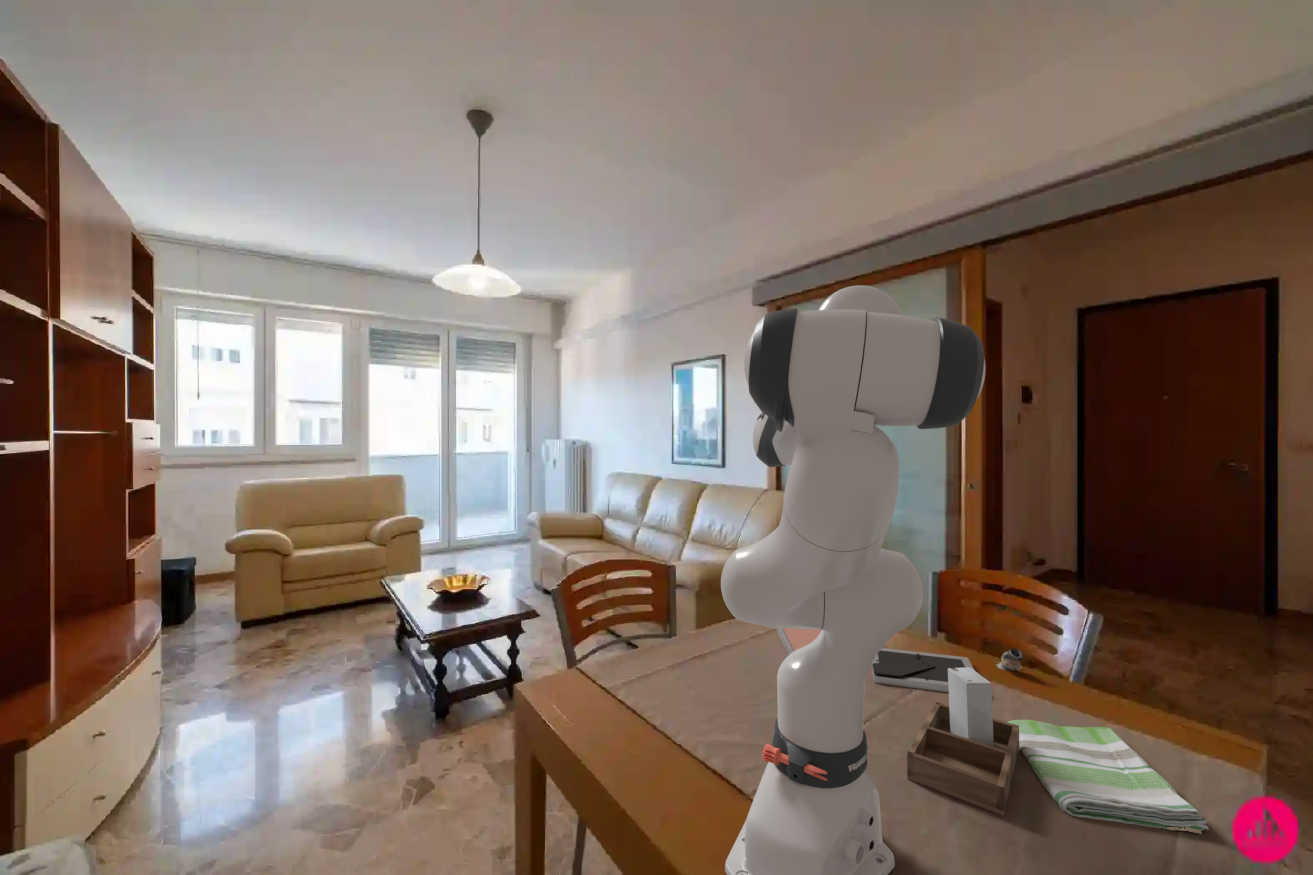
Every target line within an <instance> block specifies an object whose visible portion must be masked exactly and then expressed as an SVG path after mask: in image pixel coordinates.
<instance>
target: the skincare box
mask: <svg viewBox="0 0 1313 875" xmlns="http://www.w3.org/2000/svg"><path fill="white" fill-rule="evenodd" d="M974 670H975V669H974ZM974 670H973V669H971V668H968V667H966V668H948V688H949V692H948V706H949V711H950V733H952V734H955V735H958V736H961V737H965V738H968V739H971V740H974V741H977V742H980V743H984V744H987V745H990V746H993V747H994V739H993V697H992V695H993V693H992V692H993V691H992V689H993V688H992V682H990V681H989V680H988V679H986V678H985V677H983V676H982V675H981V674H979V673H978V672H977V671H976V670H975V671H974Z"/></svg>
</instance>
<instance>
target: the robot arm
mask: <svg viewBox="0 0 1313 875" xmlns="http://www.w3.org/2000/svg"><path fill="white" fill-rule="evenodd" d="M983 344H984V343H983V342H982V339H981V338H980V337H979V336H978V334H976V332H975V331H974V330H973V328H971V327H970V326H969V325H965V324H963V323H960V322H957V321H955V320H954V321H953V320H950V319H947V318H941V317H935V318H931V319H926V318H921V317H916V316H909V315H905V314H904V315H903V314H902V312H901V309H900V307H899V305H898V304H897V301H895V299H894V298H893V297H892V296H891V295H889V294H888V293H887V292H885V291H883V290H881V289H879V288H878V287H874V286H869V285H865V284H863V285H860V284H859V285H858V284H857V285H850V286H846V287H843V288H841V289H839V290H836V291H835V292H833V293H832V294H830V295H829V296H827V298H826V299H825V300H824V301H823V302H822V304H821V305H820V306H819V308H818V309H817V310H816V309H814V310H802V311H800V310H798V308H786V309H781V310H775V311H771V312H768V313H765V314H764V315H763V316H762V317H761V318H760V319H759V321H757V322H756V325H755V328H754V331H752V334H751V336H750V337H749V339H748V343H747V345H746V348H745V352H744V358H743V359H744V361H743V363H744V364H743V367H744V374H745V375H744V376H745V380H746V383H747V385H748V386H747V387H748V392H749V395H750V397H751V399H752V400H753V401H754V403H755V404H756V406H757V407H758V408H759V410H760V411H761V413H760V414H759V416H758V417H757V419H756V422H755V424H754V427H753V432H752V433H753V434H752V445H753V450H754V452H755V456H756V458H758V460H760V461H761V462H762V463H763V464H764V465H766V466H767V467H768V468H776V467H777V468H778V467H786V466H789V470H788V474H787V478H786V482H785V487H784V493H783V494H784V495H783V500H782V501H783V502H782V511H781V517H780V521H779V525H778V526H777V527H776V528H775V529H774V530H773V531H772V532H771V533H770V534H768V535H767V536H765V537H763V538H762V539H760V540H758V541H756V542H754V543H751V544H749V545H747V546H743V547H740V548H736V549H735V550H734V551H733V552H732V553H731V554H730V555H729V557H728V558H727V560H726V561H725V563H724V565H723V568H722V572H721V577H720V589H721V594H722V598H723V602H724V604H725V605H726V607H727V610H728V611H729V612H730V613H731V615H732V616H734V618H735V619H736V620H738V621H741V622H745V623H749V624H753V625H758V626H761V627H766V628H773V629H774V628H775V629H776V628H794V629H820V630H822V631H821V633H820V634H819V635H818V637H817V638H816V639H815V640H814V641H813V642H811V643H810V644H808V645H806V646H804V647H802V648H800V649H797V650H795V651H794V652H792V653H791V652H790V653H791V654H789V655H788V654H787V656H786V657H785V659H784V660H782V662H781V664H780V666H779V668H778V671H777V674H776V683H777V684H776V685H777V686H776V690H777V691H776V692H777V693H776V694H777V698H776V699H777V700H776V701H777V718H776V720H775V723H774V729H773V731H772V735H771V744H769V743H766V744H765V745H764V747H763V750H762V755H761V756H762V760H763V761H764V762H766V763H767V765H766V767H765V769H764V772H763V774H762V777H761V779H760V781H759V784H758V787H757V790H756V792H755V793H754V794H755V795H754V797H753V800H752V802H751V805H750V807H749V810H748V814H747V817H746V819H745V822H744V824H743V825H742V827H741V829H740V831H739V833H738V836H737V837H736V839H735V842H734V844H733V845H732V847H731V850H730V852H729V854H728V855H727V858H726V860H725V865H724V872H725V874H726V875H888V874H890V873H891V871H892V870H893V869H894V868H895V866H896V863H895V856H894V853H893V851H892V850H891V849H890V848H889V847H888V846H887V845H886V843H885V842H884V841H883V832H882V831H883V828H882V816H881V804H880V802H881V801H880V794H879V791H878V790H877V787H876V785H875V784H874V782H873V781H872V778H871V777H870V775H869V773H868V770H867V766H868V755H869V747H868V745H869V744H868V742H867V739H868V738H867V734H866V732H865V730H864V709H865V708H864V705H865V690H866V684H867V678H868V675H869V671H870V669H871V668H872V662H873V661H874V659H875V657H876V655H877V654H878V652H879V651H880V650H881V648H884V646H885V645H886V644H887V643H888V642H889V640H890V639H891V638H892V637H894V636H895V635H896V634H898V633H899V632H901V631H902V630H904V629H905V628H907V627H908V626H910V625H911V624H912V623H913V622H914V621H915V619H916V618H917V616H918V615H919V612H920V610H921V608H922V605H923V600H924V591H923V590H924V589H923V582H922V579H921V577H920V575H919V572H918V571H917V568H916V567H915V566H914V564H913V563H912V561H910V559H909V558H908V557H907V556H906V555H905V554H904V553H902V552H900V551H896V550H895V551H894V550H891V549H886V548H882V547H883V543H884V541H885V538H886V535H887V533H888V530H889V528H890V524H891V522H892V519H893V516H894V511H895V508H896V504H897V499H898V493H899V483H900V482H899V481H900V480H899V479H900V461H899V454H898V451H897V448H896V447H895V444H894V442H893V441H892V439H891V438H890V437H889V435H887V434H886V433H885V432H884V431H883V430H882V429H880V428H879V426H880V427H911V426H913V427H915V426H916V427H917V428H918V429H919V430H930V429H931V430H932V429H943V428H951V427H955V426H957V425H958V424H960V423H961V422H962V421H963V420H965V418H967V417H968V416H969V415H970V413H971V412H972V410H973V408H975V407H974V406H976V402H977V401H978V400H977V399H978V398H979V397H980V394H981V392H982V389H983V387H984V383H985V380H986V379H985V378H986V360H985V349H984V345H983Z"/></svg>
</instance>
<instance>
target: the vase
mask: <svg viewBox="0 0 1313 875" xmlns="http://www.w3.org/2000/svg"><path fill="white" fill-rule="evenodd" d="M1023 658H1024V657H1023V653H1022V651H1021V650H1020V649H1017V648H1010V649H1009V651H1005V652H1003V653H1002V655H1001V662H999V661H994V662H995V663H998V664H996V669H1000V670H1002V671H1008V672H1009V671H1012V672H1013V671H1016V670H1017V671H1018V672H1020V668H1021V669H1022V665H1021V662H1022V661H1023ZM1019 666H1020V667H1019Z"/></svg>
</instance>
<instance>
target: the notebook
mask: <svg viewBox="0 0 1313 875" xmlns="http://www.w3.org/2000/svg"><path fill="white" fill-rule="evenodd" d="M775 630H776V632H777V635H778V636H779V639H780V641H781V644H782V645H783V646H784V649H785V651H786V653H787V656H788V655H790V654H791V653H792V652H794V651H795V650H797V649H800V648H802V647H804V646H806V645H808V644H810V643H811V642H813V641H814V640H815V639H816V638H817V637H818V635H819V634H820V633H821V631H822V630H820V629H794V628H775Z"/></svg>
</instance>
